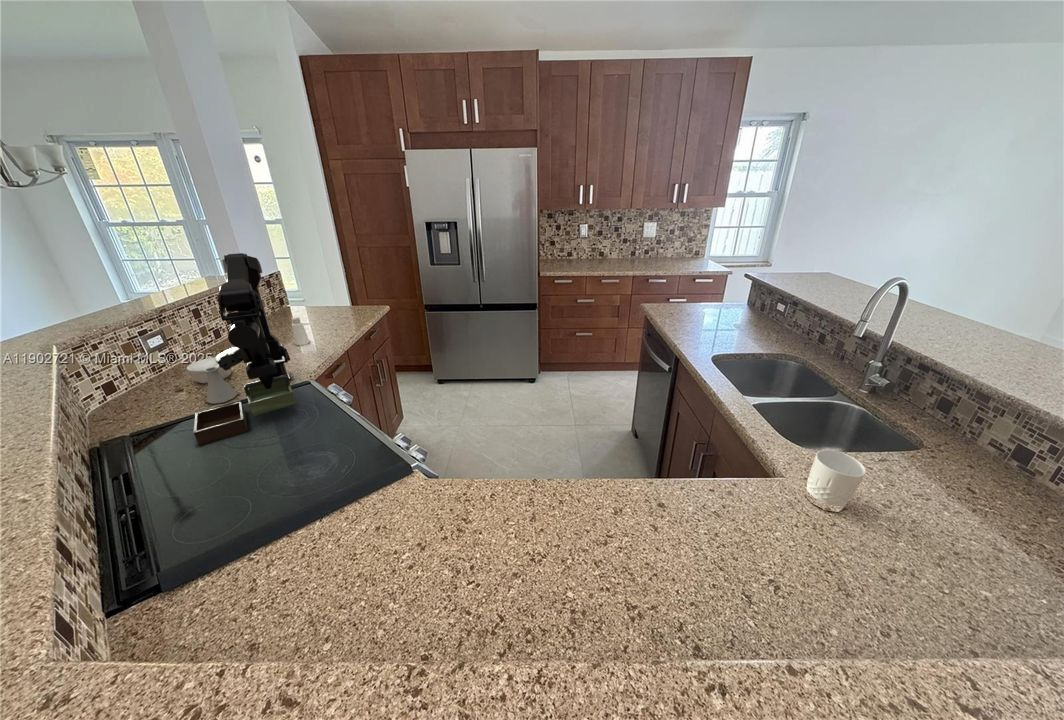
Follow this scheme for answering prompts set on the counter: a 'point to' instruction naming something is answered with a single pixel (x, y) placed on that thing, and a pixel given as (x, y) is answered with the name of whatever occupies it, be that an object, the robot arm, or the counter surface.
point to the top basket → (269, 395)
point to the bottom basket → (220, 423)
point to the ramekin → (199, 367)
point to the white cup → (834, 477)
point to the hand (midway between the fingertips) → (268, 387)
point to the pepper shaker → (299, 332)
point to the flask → (218, 387)
